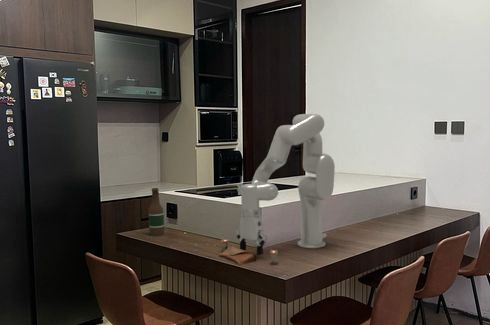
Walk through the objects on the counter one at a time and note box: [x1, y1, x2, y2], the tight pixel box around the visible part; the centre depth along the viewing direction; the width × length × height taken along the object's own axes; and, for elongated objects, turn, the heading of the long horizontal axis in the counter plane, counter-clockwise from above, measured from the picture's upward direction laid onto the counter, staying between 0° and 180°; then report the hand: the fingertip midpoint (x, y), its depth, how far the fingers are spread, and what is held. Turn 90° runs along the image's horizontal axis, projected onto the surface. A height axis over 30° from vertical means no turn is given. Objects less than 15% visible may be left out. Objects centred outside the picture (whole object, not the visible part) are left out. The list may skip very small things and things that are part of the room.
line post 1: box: [220, 238, 230, 253], centre depth 213 cm, size 3×3×5 cm
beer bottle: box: [148, 187, 165, 237], centre depth 246 cm, size 8×8×24 cm
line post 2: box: [269, 249, 279, 265], centre depth 194 cm, size 3×3×5 cm
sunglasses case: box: [217, 244, 258, 266], centre depth 202 cm, size 18×7×7 cm, turn 37°
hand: (251, 252), depth 205 cm, fingers open, 9 cm apart
